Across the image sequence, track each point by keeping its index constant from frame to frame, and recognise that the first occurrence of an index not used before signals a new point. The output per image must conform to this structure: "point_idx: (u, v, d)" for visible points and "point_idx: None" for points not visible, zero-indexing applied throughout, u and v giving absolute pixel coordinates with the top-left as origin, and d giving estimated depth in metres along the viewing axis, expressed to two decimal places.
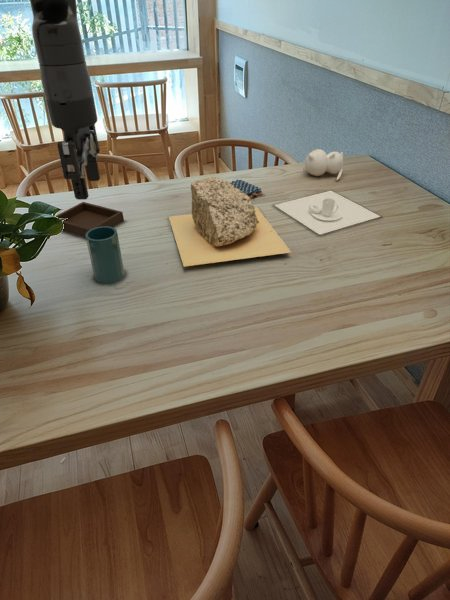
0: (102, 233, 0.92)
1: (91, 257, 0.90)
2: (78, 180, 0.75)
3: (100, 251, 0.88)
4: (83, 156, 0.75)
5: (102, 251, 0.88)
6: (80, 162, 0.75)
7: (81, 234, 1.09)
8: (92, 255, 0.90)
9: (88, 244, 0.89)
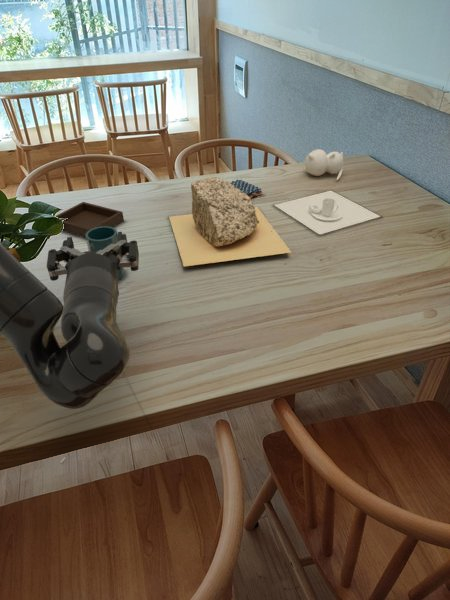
0: (102, 233, 0.92)
1: None
2: None
3: None
4: None
5: None
6: None
7: (81, 234, 1.09)
8: None
9: (88, 244, 0.89)
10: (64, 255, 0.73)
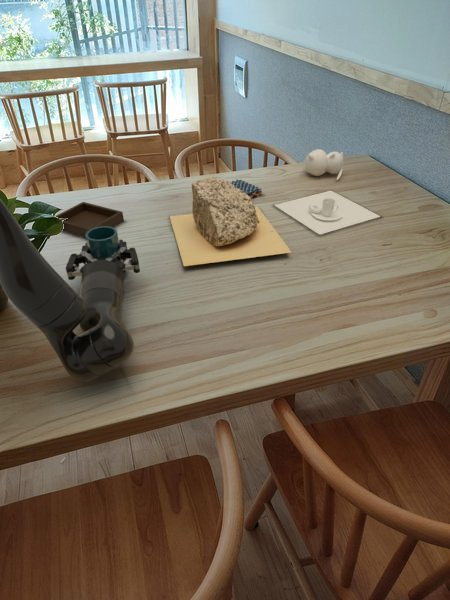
0: (102, 233, 0.92)
1: None
2: None
3: (100, 251, 0.88)
4: None
5: (102, 251, 0.88)
6: None
7: (81, 234, 1.09)
8: (92, 255, 0.90)
9: (88, 244, 0.89)
10: (83, 258, 0.89)
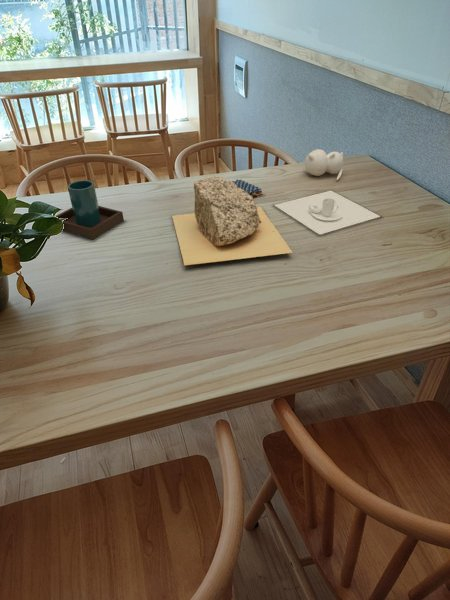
0: (82, 186, 1.12)
1: (72, 205, 1.10)
2: None
3: (79, 199, 1.08)
4: None
5: (81, 199, 1.08)
6: None
7: (81, 234, 1.09)
8: (73, 203, 1.09)
9: (70, 193, 1.08)
10: None
